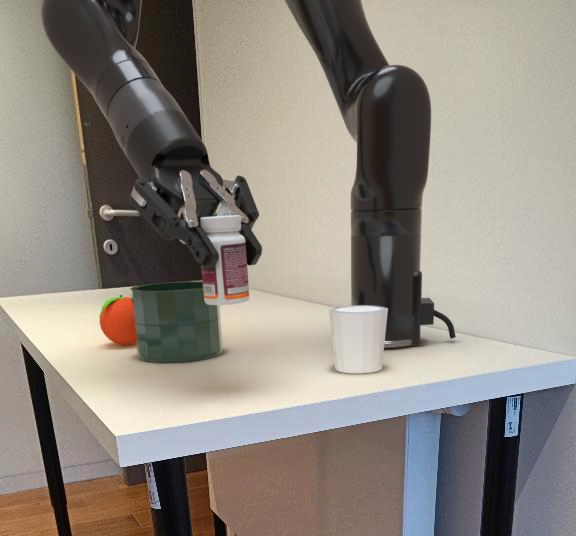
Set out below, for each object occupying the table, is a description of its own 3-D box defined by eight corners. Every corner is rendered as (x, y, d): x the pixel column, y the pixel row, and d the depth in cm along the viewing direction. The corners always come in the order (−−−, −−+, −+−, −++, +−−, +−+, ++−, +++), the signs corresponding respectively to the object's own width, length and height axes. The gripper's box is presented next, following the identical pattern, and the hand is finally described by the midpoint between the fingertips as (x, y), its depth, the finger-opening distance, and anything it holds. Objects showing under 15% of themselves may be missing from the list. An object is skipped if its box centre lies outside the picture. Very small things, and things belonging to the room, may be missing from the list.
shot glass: (392, 363, 92) (393, 304, 89) (380, 375, 86) (381, 313, 83) (338, 361, 94) (338, 304, 91) (322, 373, 88) (321, 312, 85)
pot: (227, 345, 108) (222, 280, 104) (215, 361, 97) (210, 289, 94) (149, 347, 108) (142, 282, 105) (128, 363, 98) (120, 292, 94)
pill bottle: (252, 298, 80) (247, 214, 77) (245, 305, 76) (240, 215, 73) (209, 300, 81) (202, 216, 77) (199, 306, 76) (191, 218, 73)
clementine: (122, 351, 106) (116, 299, 103) (87, 348, 109) (80, 298, 107) (159, 342, 112) (154, 292, 109) (125, 339, 116) (119, 291, 113)
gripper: (105, 104, 72) (188, 239, 68) (224, 109, 80) (304, 229, 77) (87, 168, 78) (163, 296, 74) (200, 166, 86) (273, 280, 83)
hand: (235, 261), depth 75 cm, fingers closed on pill bottle, 4 cm apart
